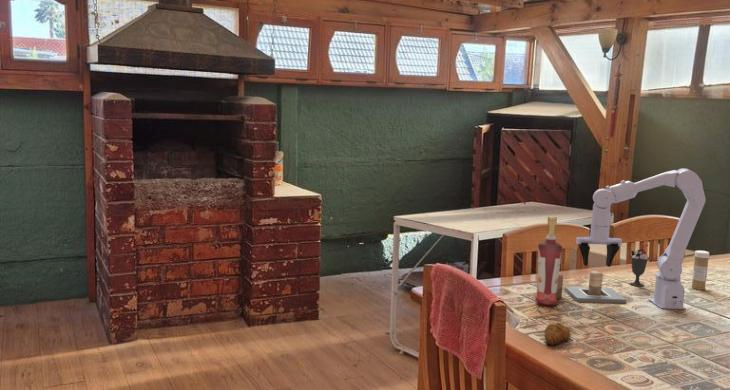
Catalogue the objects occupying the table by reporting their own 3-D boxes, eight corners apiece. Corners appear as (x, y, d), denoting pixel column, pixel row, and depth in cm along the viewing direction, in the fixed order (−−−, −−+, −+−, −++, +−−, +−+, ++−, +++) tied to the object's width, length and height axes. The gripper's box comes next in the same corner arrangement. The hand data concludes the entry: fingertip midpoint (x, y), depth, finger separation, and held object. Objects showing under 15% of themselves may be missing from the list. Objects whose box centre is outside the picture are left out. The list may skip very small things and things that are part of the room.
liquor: (558, 308, 199) (565, 220, 195) (534, 306, 201) (541, 218, 197) (556, 301, 206) (563, 216, 202) (533, 299, 208) (539, 214, 204)
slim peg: (602, 298, 212) (604, 275, 210) (590, 297, 212) (592, 274, 210) (598, 294, 216) (600, 271, 214) (586, 294, 216) (588, 271, 214)
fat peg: (564, 298, 210) (566, 278, 209) (542, 298, 210) (544, 277, 209) (557, 292, 217) (559, 272, 216) (536, 291, 217) (538, 271, 216)
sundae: (650, 287, 226) (654, 246, 224) (631, 287, 226) (635, 245, 224) (642, 282, 233) (646, 242, 230) (624, 282, 233) (627, 241, 231)
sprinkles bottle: (694, 285, 231) (698, 249, 229) (707, 288, 227) (711, 252, 225) (688, 287, 228) (692, 251, 226) (702, 291, 224) (706, 253, 222)
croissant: (552, 330, 180) (553, 313, 179) (576, 336, 176) (578, 318, 176) (535, 344, 169) (537, 326, 168) (561, 350, 165) (562, 332, 165)
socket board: (626, 303, 207) (626, 299, 207) (576, 301, 207) (577, 297, 207) (610, 291, 220) (611, 287, 220) (564, 289, 220) (564, 286, 220)
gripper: (617, 223, 215) (613, 263, 217) (574, 222, 215) (571, 261, 217) (625, 227, 208) (622, 268, 210) (581, 226, 208) (578, 267, 210)
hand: (596, 265), depth 213 cm, fingers open, 7 cm apart
